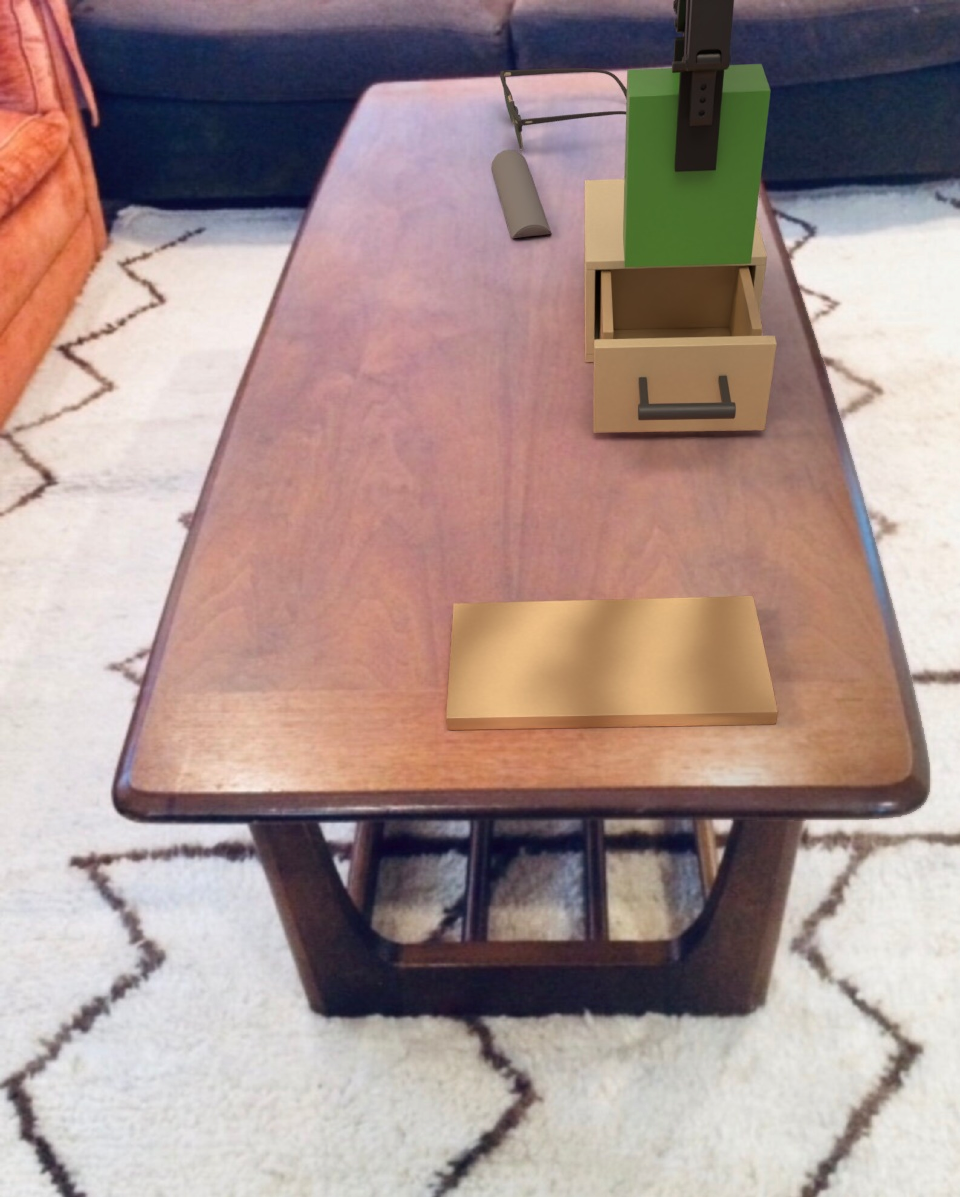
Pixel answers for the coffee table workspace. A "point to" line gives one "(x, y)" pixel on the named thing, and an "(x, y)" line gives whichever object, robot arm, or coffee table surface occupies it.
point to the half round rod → (518, 195)
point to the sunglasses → (520, 122)
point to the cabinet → (609, 251)
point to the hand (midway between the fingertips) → (691, 151)
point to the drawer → (680, 351)
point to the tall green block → (692, 173)
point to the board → (608, 664)
